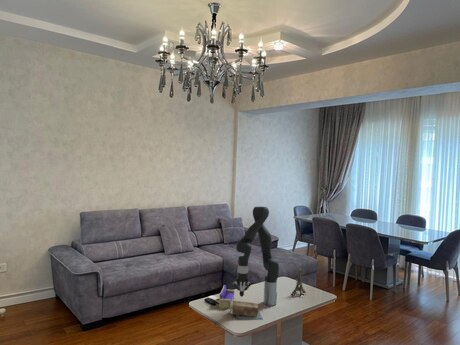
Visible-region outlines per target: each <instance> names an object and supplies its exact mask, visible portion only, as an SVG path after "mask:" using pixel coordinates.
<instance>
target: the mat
mask: <svg viewBox="0 0 460 345" xmlns="http://www.w3.org/2000/svg"><path fill="white" fill-rule="evenodd" d="M235 316H236V319H237V320H263V317H262V314H261V312H260V310H259V309H258V315H257V317H256V316H247V315H238V314H235Z"/></svg>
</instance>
